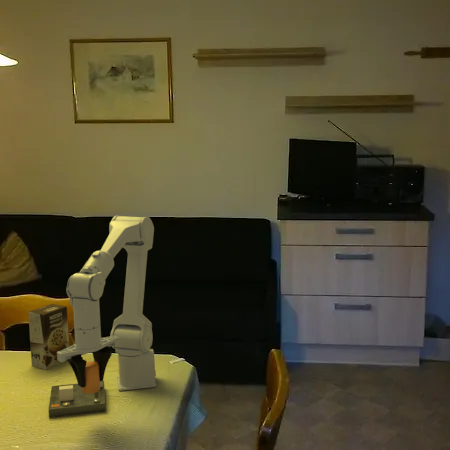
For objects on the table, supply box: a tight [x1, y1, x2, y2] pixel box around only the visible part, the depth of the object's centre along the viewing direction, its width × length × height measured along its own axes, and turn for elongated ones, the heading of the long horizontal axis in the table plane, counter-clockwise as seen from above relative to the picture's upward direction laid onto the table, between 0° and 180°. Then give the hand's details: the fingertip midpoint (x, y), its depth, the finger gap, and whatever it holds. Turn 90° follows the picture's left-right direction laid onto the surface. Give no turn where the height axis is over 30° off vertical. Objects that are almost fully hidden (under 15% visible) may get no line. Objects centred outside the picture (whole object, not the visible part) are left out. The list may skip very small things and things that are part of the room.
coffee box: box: [27, 303, 70, 371], centre depth 173 cm, size 9×6×16 cm
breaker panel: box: [47, 380, 107, 419], centre depth 150 cm, size 13×13×2 cm
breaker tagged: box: [58, 385, 74, 401], centre depth 147 cm, size 3×2×3 cm, turn 102°
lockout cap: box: [82, 360, 100, 394], centre depth 139 cm, size 4×4×6 cm
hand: (90, 382), depth 139 cm, fingers closed on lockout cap, 4 cm apart
